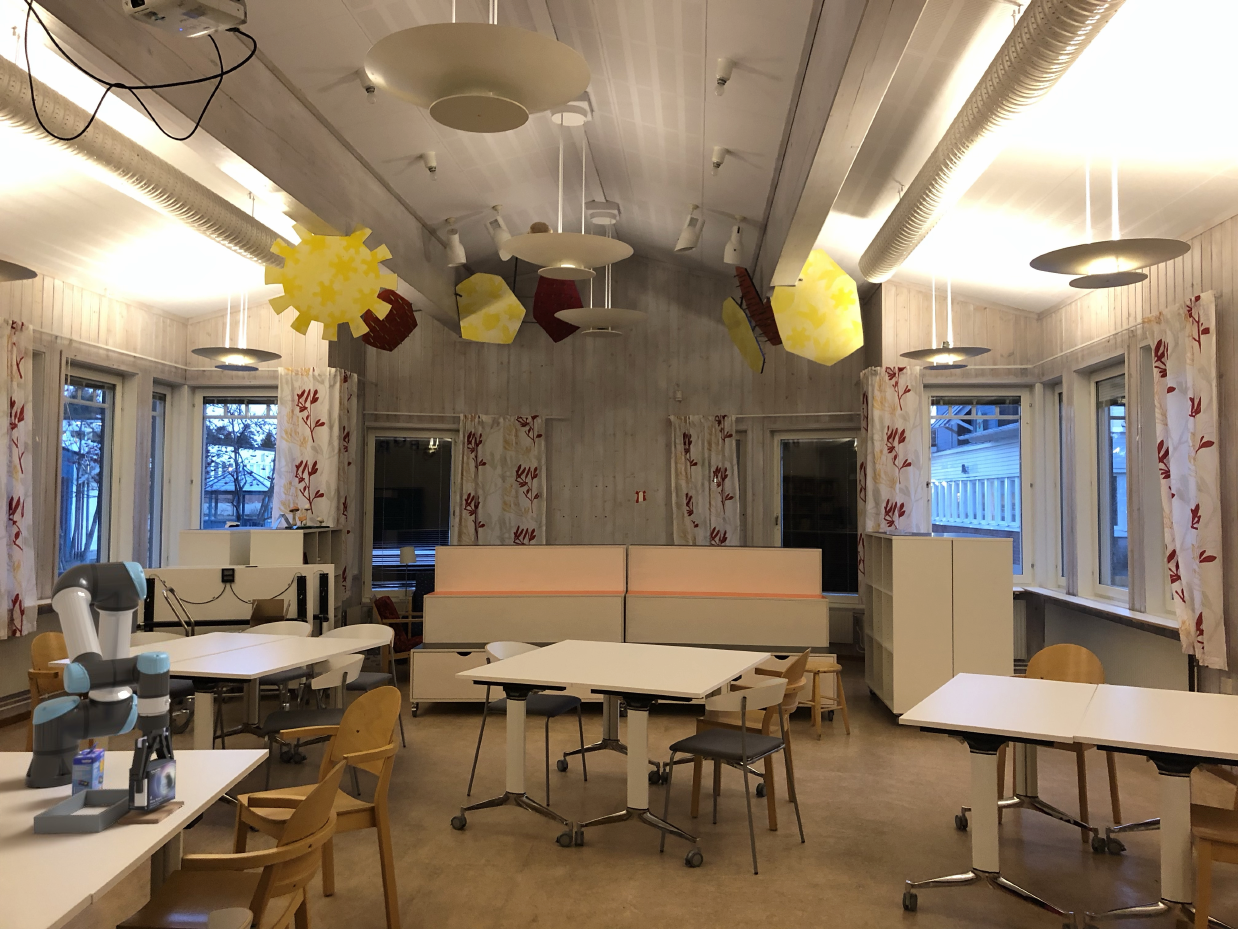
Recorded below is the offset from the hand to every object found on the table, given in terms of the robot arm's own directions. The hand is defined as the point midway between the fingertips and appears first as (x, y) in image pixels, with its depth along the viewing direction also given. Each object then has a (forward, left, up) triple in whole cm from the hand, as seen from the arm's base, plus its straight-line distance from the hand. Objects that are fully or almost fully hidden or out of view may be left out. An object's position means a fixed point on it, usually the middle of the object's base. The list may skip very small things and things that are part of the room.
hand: (152, 798), depth 238 cm
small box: (0, 0, -2) cm, 2 cm away
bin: (+2, -14, -4) cm, 15 cm away
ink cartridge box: (-15, -25, -4) cm, 29 cm away
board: (0, 0, -4) cm, 4 cm away
